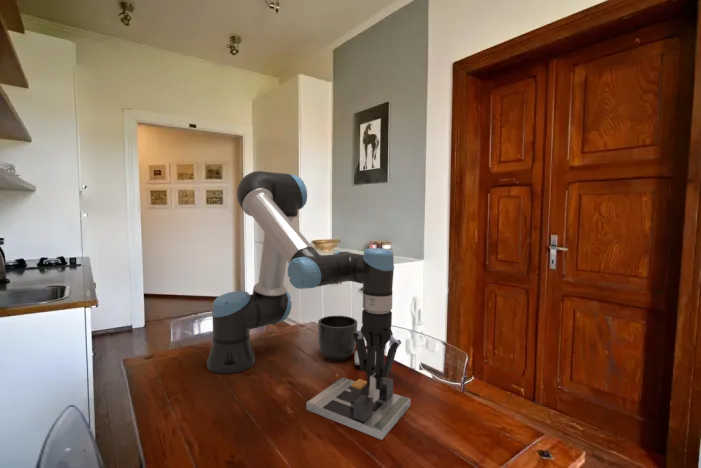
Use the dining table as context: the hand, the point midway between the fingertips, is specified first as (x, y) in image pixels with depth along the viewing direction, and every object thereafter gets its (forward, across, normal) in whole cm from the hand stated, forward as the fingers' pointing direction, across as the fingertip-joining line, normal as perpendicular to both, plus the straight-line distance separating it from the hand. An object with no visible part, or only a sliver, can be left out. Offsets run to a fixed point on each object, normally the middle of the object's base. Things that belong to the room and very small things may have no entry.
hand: (374, 399), depth 92 cm
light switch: (+4, -15, +25) cm, 30 cm away
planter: (+4, -28, +24) cm, 37 cm away
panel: (+4, -4, 0) cm, 6 cm away
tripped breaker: (+1, -4, 0) cm, 5 cm away
